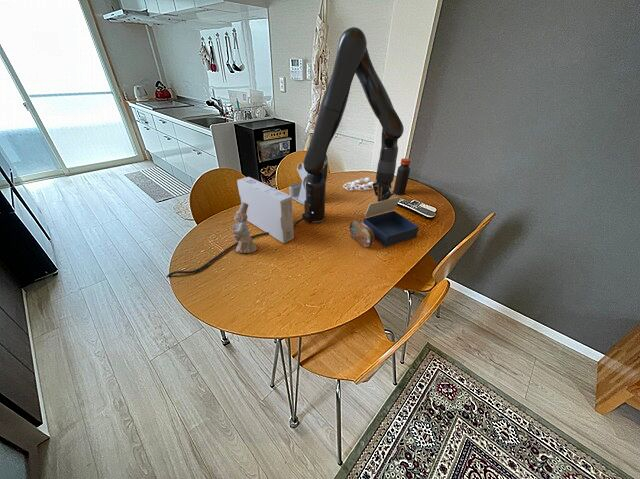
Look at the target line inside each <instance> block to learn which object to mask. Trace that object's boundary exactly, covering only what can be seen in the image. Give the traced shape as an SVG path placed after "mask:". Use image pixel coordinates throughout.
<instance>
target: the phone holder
mask: <svg viewBox="0 0 640 479" xmlns="http://www.w3.org/2000/svg"><path fill="white" fill-rule="evenodd" d="M296 171H297V173H298V176H299V177H300V179H301V182H296V183H293V184H290V185H289V186H288V187H289V191H288V192H289V195H290V196H291V197H292V200H294V201H296V202H297V203H299V204H301V205H302V206H304V201H305V200H306V178H307V174H308V173H307V172H306V170H305V169H304V165H303V162H299V163H298V164H297V167H296Z"/></svg>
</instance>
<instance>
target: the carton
mask: <svg viewBox="0 0 640 479" xmlns="http://www.w3.org/2000/svg"><path fill="white" fill-rule="evenodd" d="M363 223H364V224H365V225H367V226H368V227H369V228H371V229H372V231H373V233H374V236H375V239H374V240H376V241H377V242H379V244H381V245H382V246H384V247H385V248H386V247H390V246H393V245H396V244H399V243H403V242H405V241H408V240H412V239H414V238H415V239H416V238H417V236H418V233H419V230H420V226H419V225H417V224H415V223H414V222H413V221H410V220H409V219H407V217H405V216H403V215H402V214H400V213H399V212H397V211H395V210H391V211H388V212H384V213H380V214H376V215H372V216H368V217H364V218H363Z"/></svg>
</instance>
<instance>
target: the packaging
mask: <svg viewBox="0 0 640 479" xmlns="http://www.w3.org/2000/svg"><path fill="white" fill-rule="evenodd" d="M236 184H237V189H238V195H239V200H240V204H241V203H242V202H244V203H247V204H248V209H247V213H246V215H247V216H248V218H247V220H246V222H249V223H250V224H252V225H254V226H255V227H256V228H259V229H260V230H262V231H264V233H266V232H269V234H268V235H270V236H271V237H273V238H274V239H276V240H278V241H279V242H281V243H283V244H286V243H287V242H289V241H291V240H293V239H295V231H294V228H295V227H293V225H294V214H293V213H294V212H293V211H294V210H293V199H292V197H291V196H290V194H288V193H286V192H283V191H282V190H279V189H276V188H274V187H272V186H270V185H268V184H266V183H264V182H261V181H259V180H258V179H255V178H253V177H250V176H245V177H241V178H239V179H236Z"/></svg>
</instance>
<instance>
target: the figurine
mask: <svg viewBox="0 0 640 479" xmlns="http://www.w3.org/2000/svg"><path fill="white" fill-rule="evenodd" d="M247 209H248V204H247V203H244V202H242V203H241V202H240V205H239V208H238V210H236V212H235V215H233V216H234V219H233V220H234V222H233V224H232V228H231V229H232V230H231V234H233V236H232V239H234V241H235V243H237V242H239V243H238V244H237V245H236V246H235V247H236V248H235V252H237V253H240V254H246V253H247V254H251V253H253V252H255V251H257V249H258V248H257V245H256V244H255V242H254V240H253V238H250V234H251V231H250V230H249V229H248V228H249V227H248V223H247V218H248V216H247V215H246V213H247Z"/></svg>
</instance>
